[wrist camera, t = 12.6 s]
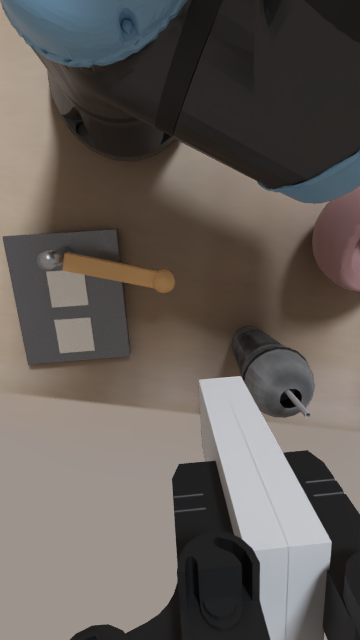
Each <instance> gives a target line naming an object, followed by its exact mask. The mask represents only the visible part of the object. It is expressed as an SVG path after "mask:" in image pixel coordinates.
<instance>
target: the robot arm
mask: <svg viewBox="0 0 360 640" xmlns="http://www.w3.org/2000/svg"><path fill="white" fill-rule="evenodd" d="M0 1H1V3H2V7H3V10H4V12H5V14H6V16H7V18H8V19H9V21H10V23H11V25H12V26H13V27H14V28H15V29H16V30H17V32H18V34H19V36H21V37H23V38H24V40H25V42H26V43H27V44H28V45H29V46H31V48H32V49H33V50H34V52H35V53H36V54H37V56H38V57H39V59H40V60H41V61H42V63H43V64H44V65H45V67H46V68H47V71H48V80H49V86H50V90H51V93H52V97H53V100H54V102H55V105H56V107H57V109H58V111H59V113H60V115H61V117H62V118H63V120H64V122H65V123H66V124H67V126H68V127H69V128H70V130H71V131H72V132H73V133H74V134H75V135H76V136H77V137H78V138H79V139H80V140H81V141H82V142H83V143H84V144H85V145H87V146H88V147H89V148H91V149H92V150H94V151H96V152H97V153H99V154H101V155H104V156H106V157H109V158H113V159H117V160H126V161H129V160H139V159H144V158H147V157H150V156H153V155H155V154H157V153H159V152H160V151H162V150H163V149H165V148H166V147H167V146H169V145H170V144H171V143H172V142H173V141H174V140H175V139H176V140H178V141H180V142H182V143H184V144H186V145H188V146H190V147H192V148H194V149H196V150H198V151H200V152H202V153H203V154H205V155H207V156H209V157H211V158H213V159H215V160H217V161H219V162H221V163H223V164H225V165H227V166H229V167H231V168H233V169H235V170H237V171H239V172H241V173H242V174H244V175H246V176H248V177H250V178H252V179H254V180H256V181H257V182H258V184H259V185H260V186H261V187H263V188H264V189H266V190H269V191H274V192H280V193H282V194H284V195H286V196H289V197H291V198H293V199H295V200H297V201H300V202H303V203H313V204H316V203H324V202H328V201H332V200H334V199H337V198H339V197H342V196H344V195H346V194H348V193H350V192H351V191H353V190H355V189H356V188H358V187H359V186H360V0H0ZM199 394H200V414H201V435H202V448H203V453H204V458H205V462H196V463H186V464H179V466H178V467H177V469H176V472H175V474H174V476H173V478H172V484H173V500H174V515H175V531H176V546H177V562H178V569H177V577H178V583H177V586H176V589H175V592H174V595H173V597H172V598H171V600H170V602H169V604H168V605H167V606H166V607H165V608H164V609H163V610H162V612H161V613H160V614H159V615H158V616H156V617H154V618H153V619H151V620H150V621H148V622H147V623H145V624H143V625H141V626H139V627H137V628H135V629H133V630H131V631H130V632H127V633H126V634H125V633H124V632H123V630H120V629H118V628H116V627H113V626H111V625H95V626H91V627H89V628H87V629H85V630H83V631H81V632H79V633H77V634H75V635H74V636H73V637H72V638H71V639H70V640H324V632H325V634H326V637H327V639H328V640H360V514H359V513H358V511H357V510H356V508H355V507H354V505H353V504H352V503H351V501H350V500H349V498H348V497H347V495H346V494H344V493H343V490H342V488H341V487H340V485H339V484H338V482H337V481H335V479H334V477H333V475H332V474H331V472H330V471H329V469H328V468H327V467H326V465H325V464H324V462H322V461H321V460H320V459H318V458H317V457H316V456H314V455H313V454H312V453H310V452H309V451H296V452H286V453H283V452H282V450H281V449H280V447H279V445H278V443H277V441H276V440H275V438H274V436H273V434H272V432H271V430H270V428H269V427H268V425H267V423H266V421H265V419H264V417H263V416H262V414H261V412H260V410H259V408H258V407H257V405H256V403H255V401H254V399H253V397H252V396H251V394H250V392H249V390H248V388H247V386H246V385H245V383H244V381H243V379H242V377H241V376H235V377H224V378H212V379H200V380H199Z"/></svg>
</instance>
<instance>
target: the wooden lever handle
mask: <svg viewBox="0 0 360 640" xmlns="http://www.w3.org/2000/svg"><path fill="white" fill-rule="evenodd" d="M63 271H68V272H73V273H78V274H83V275H89V276H94V277H99V278H104V279H109V280H114V281H119V282H124V283H129V284H134V285H140V286H145V287H150V288H155V289H156V290H157V291H158V292H160V293H168V292H170V291H171V290H172V289H173V288H174V285H175V279H174V276H173V274H172V273H171V272H170V271H169V270H167V269H160V270H153V269H148V268H143V267H138V266H133V265H128V264H123V263H118V262H114V261H109V260H104V259H99V258H94V257H89V256H84V255H79V254H74V253H69V252H67V253H65V254H64V262H63Z"/></svg>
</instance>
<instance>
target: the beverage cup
mask: <svg viewBox="0 0 360 640" xmlns="http://www.w3.org/2000/svg"><path fill="white" fill-rule="evenodd" d="M232 347H233V352H234V355H235V358H236V361H237V364H238V367H239V369H240V372H241V376H242V379H243V381H244V383H245V385H246V386H247V388H248V390H249V392H250V394H251V396H252V397H253V399H254V401H255V403H256V405H257V407H258V408H259V410H260V411H261V412H263V413H265V414H267V415H270V416H273V417H289V416H293V415H296V414H297V413H299V412H302V413H303V415H304V416H305V417H306V418H310V417H311V413H310V412H309V411H308V410H307V409H306V408H305V407H306V406H307V405H308V404H309V402H310V401H311V399H312V397H313V392H314V387H315V385H314V377H313V373H312V371H311V369H310V367H309V365H308V363H307V361H306V359H305V358H304V357H303V356H302V355H301V354H300V353H299V352H297V351H295V350H292V349H290V348H287V347H284V346H283V345H281V344H280V343H279V342H277V341H276V340H274V339H273V338H271V337H270V336H269V335H267V334H266V333H264V332H263V331H261V330H259V329H258V328H255V327H251V326H247V327H243V328H241V329H239V330H238V331H237V332H236V333H235V334H234V336H233V339H232Z"/></svg>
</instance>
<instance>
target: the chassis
mask: <svg viewBox="0 0 360 640" xmlns="http://www.w3.org/2000/svg"><path fill="white" fill-rule="evenodd" d="M3 241H4V246H5V251H6V256H7V261H8V266H9V271H10V276H11V281H12V286H13V291H14V296H15V301H16V306H17V311H18V316H19V321H20V326H21V331H22V336H23V341H24V346H25V351H26V356H27V361H28V365H30V364H42V363H54V362H66V361H79V360H91V359H103V358H116V357H128V356H130V344H129V335H128V325H127V316H126V307H125V298H124V288H123V282H119V281H114V280H109V279H104V278H99V277H94V276H89V275H83V274H78V273H73V272H68V271H63V262H64V254H65V253H67V252H69V253H74V254H79V255H84V256H89V257H94V258H99V259H104V260H109V261H114V262H118V263H121V260H120V251H119V242H118V233H117V229H113V230H97V231H81V232H65V233H49V234H34V235H18V236H4V237H3Z"/></svg>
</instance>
